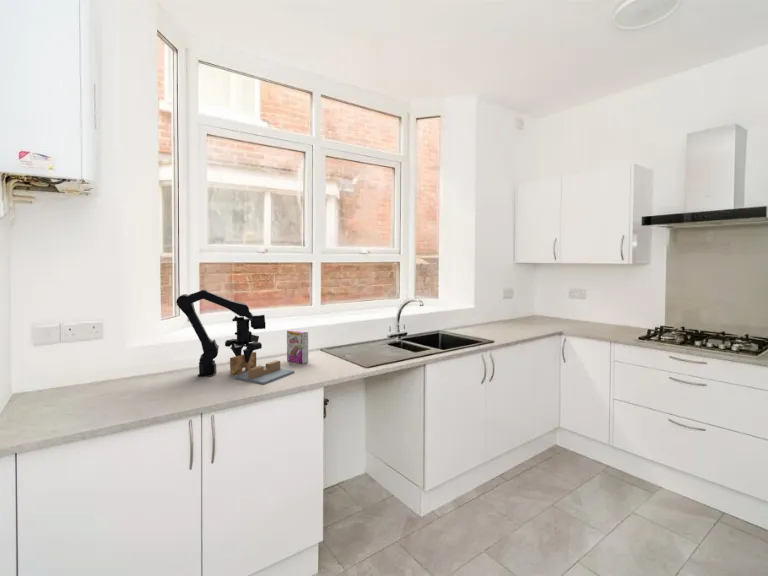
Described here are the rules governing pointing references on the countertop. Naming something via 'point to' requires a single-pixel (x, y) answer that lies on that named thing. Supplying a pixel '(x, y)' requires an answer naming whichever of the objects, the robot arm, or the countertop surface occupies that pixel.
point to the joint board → (265, 377)
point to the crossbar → (241, 363)
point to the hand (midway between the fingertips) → (243, 362)
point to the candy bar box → (297, 346)
